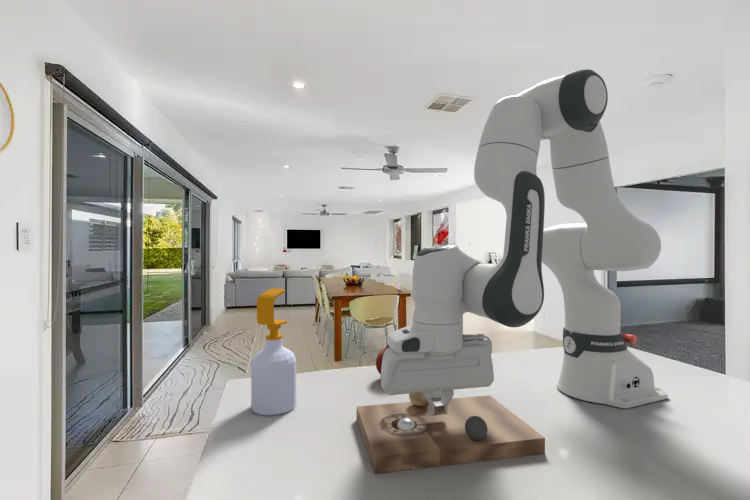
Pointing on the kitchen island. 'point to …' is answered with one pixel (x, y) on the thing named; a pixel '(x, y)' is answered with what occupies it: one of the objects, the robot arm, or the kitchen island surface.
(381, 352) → the fruit
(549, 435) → the kitchen island surface
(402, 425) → the steel ball
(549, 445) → the kitchen island surface
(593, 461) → the kitchen island surface
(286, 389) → the soap bottle
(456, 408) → the board
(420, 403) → the beech ball
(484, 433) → the black rubber ball
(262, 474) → the kitchen island surface
